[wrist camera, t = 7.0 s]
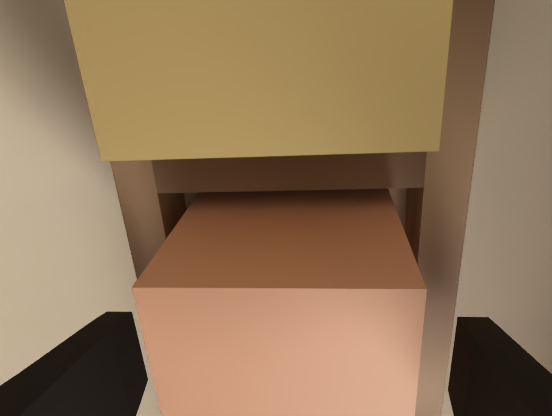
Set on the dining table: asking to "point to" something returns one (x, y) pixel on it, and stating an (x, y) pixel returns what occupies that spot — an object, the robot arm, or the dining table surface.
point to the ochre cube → (262, 76)
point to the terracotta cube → (284, 307)
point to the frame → (353, 175)
